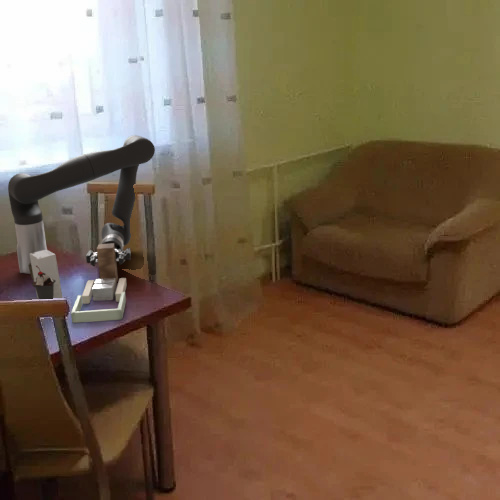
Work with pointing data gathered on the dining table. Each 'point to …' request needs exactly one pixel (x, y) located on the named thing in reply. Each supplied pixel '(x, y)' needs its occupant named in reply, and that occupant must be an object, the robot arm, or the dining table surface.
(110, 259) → the block
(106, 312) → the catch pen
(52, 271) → the skincare box
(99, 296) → the grey rectangular block
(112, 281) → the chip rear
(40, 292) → the sundae
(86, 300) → the slot rails
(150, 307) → the dining table surface
